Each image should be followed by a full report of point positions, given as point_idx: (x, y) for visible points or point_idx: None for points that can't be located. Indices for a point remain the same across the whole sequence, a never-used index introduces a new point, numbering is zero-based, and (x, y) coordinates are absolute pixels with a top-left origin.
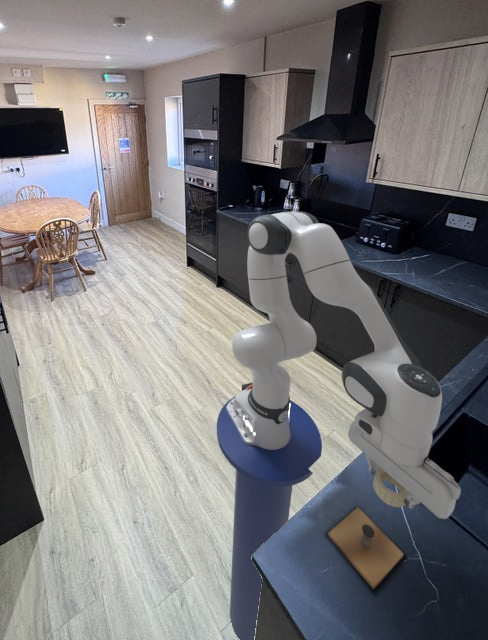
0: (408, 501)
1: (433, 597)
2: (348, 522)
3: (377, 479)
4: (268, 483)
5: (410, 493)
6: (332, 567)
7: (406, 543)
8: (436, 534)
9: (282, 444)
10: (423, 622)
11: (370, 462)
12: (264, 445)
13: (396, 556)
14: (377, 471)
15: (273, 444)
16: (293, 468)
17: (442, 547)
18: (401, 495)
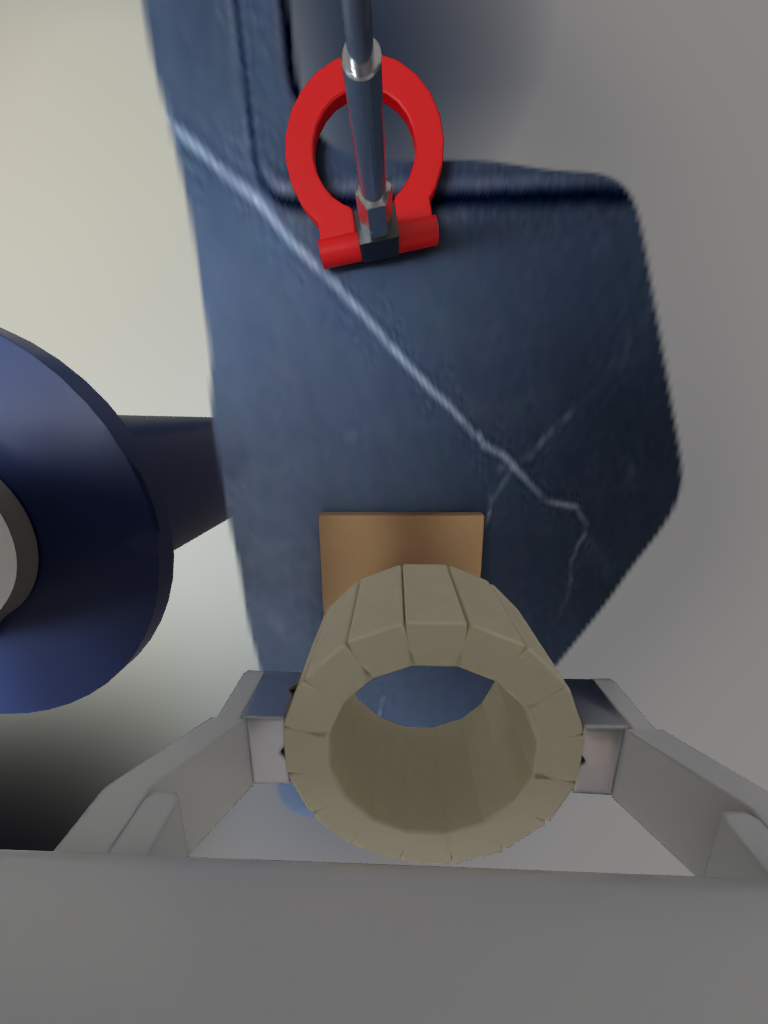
0: (604, 790)
1: (577, 533)
2: (336, 585)
3: (348, 834)
4: (139, 651)
5: (387, 257)
6: (385, 696)
7: (468, 463)
8: (517, 333)
9: (22, 545)
10: (580, 606)
11: (204, 831)
12: (6, 606)
13: (474, 542)
14: (299, 771)
15: (9, 585)
16: (122, 567)
17: (546, 361)
18: (545, 798)
